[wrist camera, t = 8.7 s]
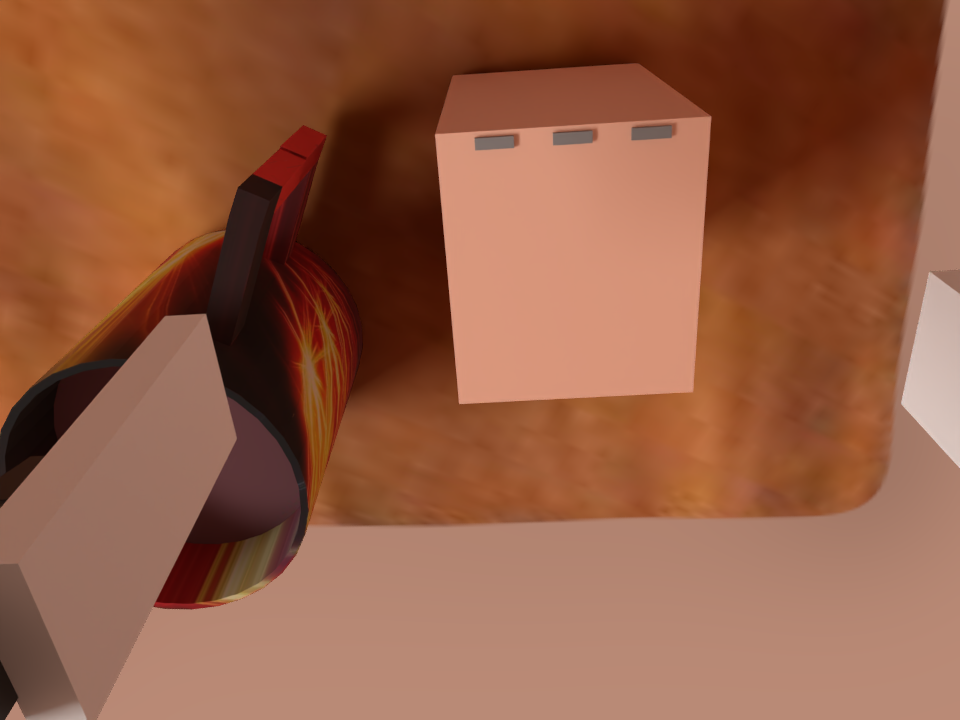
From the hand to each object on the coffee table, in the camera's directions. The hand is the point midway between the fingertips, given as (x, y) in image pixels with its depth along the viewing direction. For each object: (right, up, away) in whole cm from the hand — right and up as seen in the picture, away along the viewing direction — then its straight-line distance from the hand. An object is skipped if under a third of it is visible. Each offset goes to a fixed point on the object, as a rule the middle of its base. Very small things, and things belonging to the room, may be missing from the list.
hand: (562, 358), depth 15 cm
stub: (+1, +7, +17) cm, 19 cm away
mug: (-12, +3, +20) cm, 23 cm away
